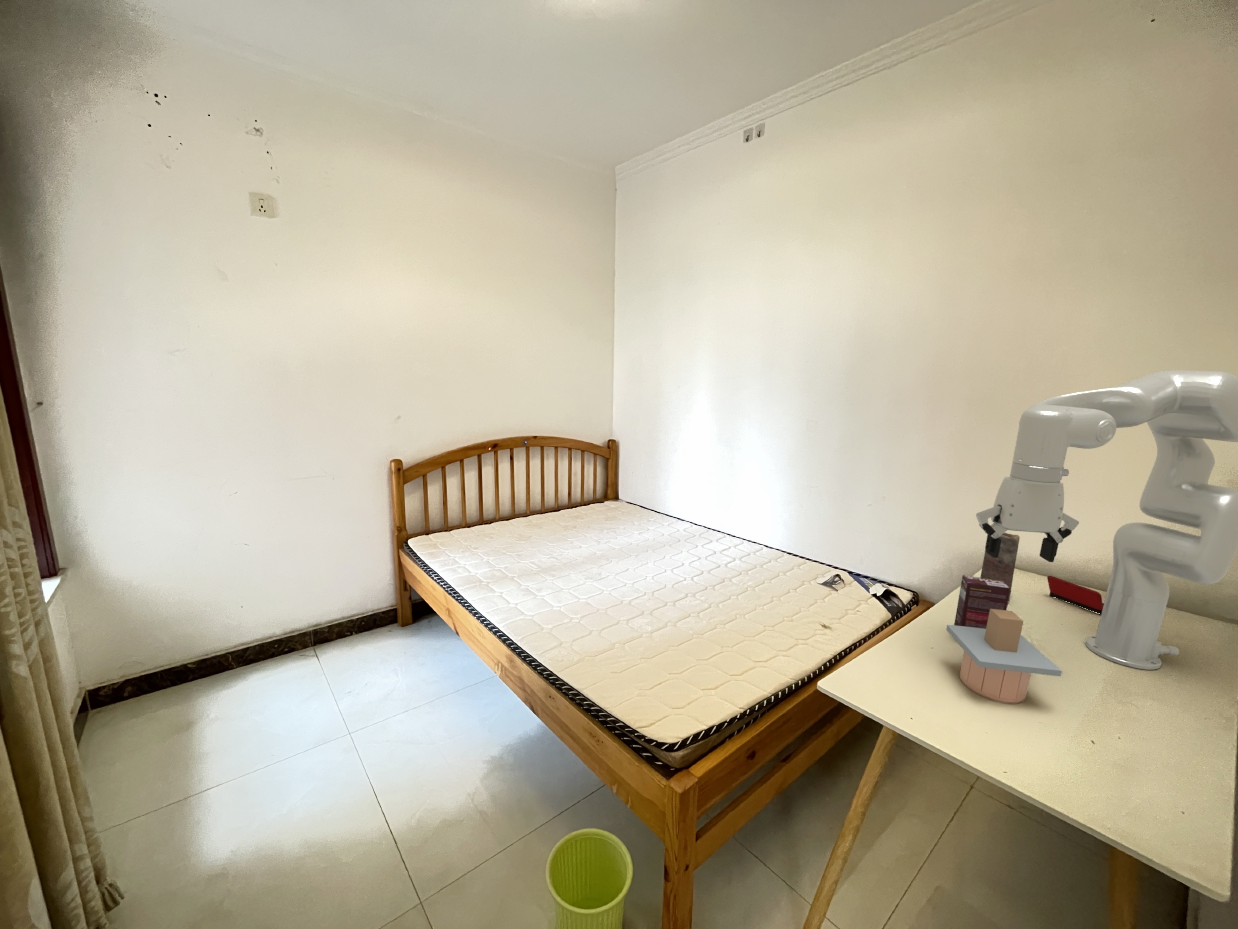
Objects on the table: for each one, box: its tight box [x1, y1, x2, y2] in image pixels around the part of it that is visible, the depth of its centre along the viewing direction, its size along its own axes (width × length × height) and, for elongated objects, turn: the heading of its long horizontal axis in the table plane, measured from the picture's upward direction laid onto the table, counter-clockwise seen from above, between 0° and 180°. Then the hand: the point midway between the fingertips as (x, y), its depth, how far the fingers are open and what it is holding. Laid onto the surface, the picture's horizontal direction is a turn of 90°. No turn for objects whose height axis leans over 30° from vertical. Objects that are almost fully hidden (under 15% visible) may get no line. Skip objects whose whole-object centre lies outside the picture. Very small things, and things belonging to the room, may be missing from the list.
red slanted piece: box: [1046, 575, 1104, 614], centre depth 141 cm, size 12×11×7 cm
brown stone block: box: [980, 532, 1021, 602], centre depth 142 cm, size 8×7×20 cm
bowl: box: [959, 649, 1032, 705], centre depth 103 cm, size 11×11×8 cm
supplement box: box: [953, 574, 1011, 629], centre depth 119 cm, size 9×5×16 cm, turn 71°
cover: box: [945, 609, 1063, 677], centre depth 102 cm, size 14×14×8 cm
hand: (1018, 557), depth 99 cm, fingers open, 9 cm apart
